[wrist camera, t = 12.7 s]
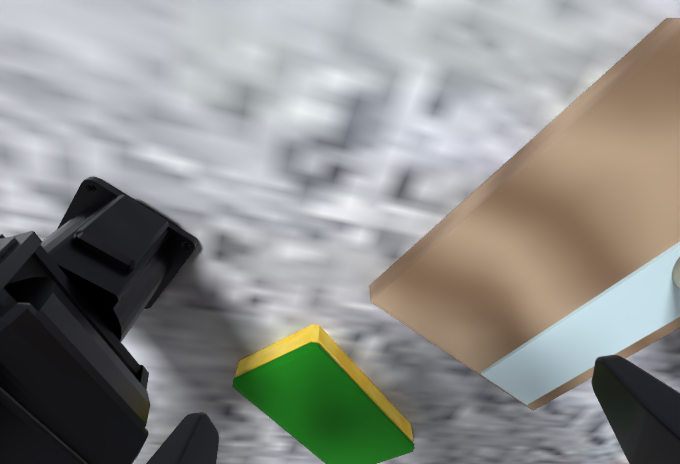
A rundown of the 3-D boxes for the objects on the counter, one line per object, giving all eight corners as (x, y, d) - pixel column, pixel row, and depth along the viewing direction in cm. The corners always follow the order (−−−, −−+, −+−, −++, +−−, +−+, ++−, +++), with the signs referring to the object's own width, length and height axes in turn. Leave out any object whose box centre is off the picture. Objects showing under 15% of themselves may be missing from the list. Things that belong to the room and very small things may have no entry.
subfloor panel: (524, 392, 29) (534, 413, 27) (369, 285, 23) (371, 304, 22) (803, 226, 21) (837, 242, 20) (666, 17, 16) (699, 18, 15)
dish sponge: (317, 318, 25) (314, 345, 23) (412, 422, 31) (416, 451, 29) (237, 356, 27) (228, 385, 25) (340, 448, 33) (340, 477, 31)
